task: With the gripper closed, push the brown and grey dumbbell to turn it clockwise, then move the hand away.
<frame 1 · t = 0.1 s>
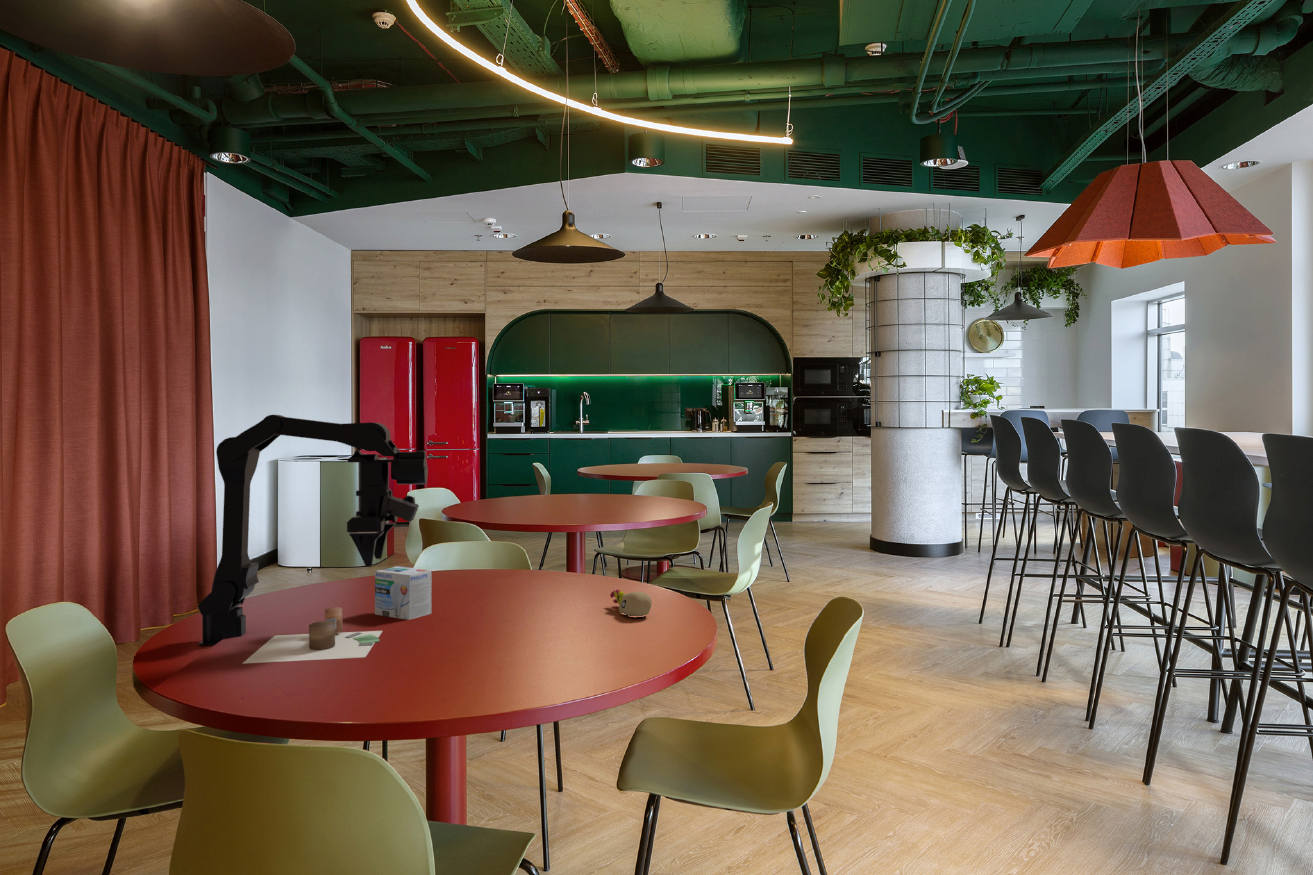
hand: (373, 562, 154), 15 cm above the table, fingers open, 9 cm apart
toy: (628, 614, 173), on the table
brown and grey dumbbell: (327, 627, 145), point 4 cm above the table, hinge at 0.0°
light bulb box: (403, 620, 167), on the table
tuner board: (317, 652, 142), on the table
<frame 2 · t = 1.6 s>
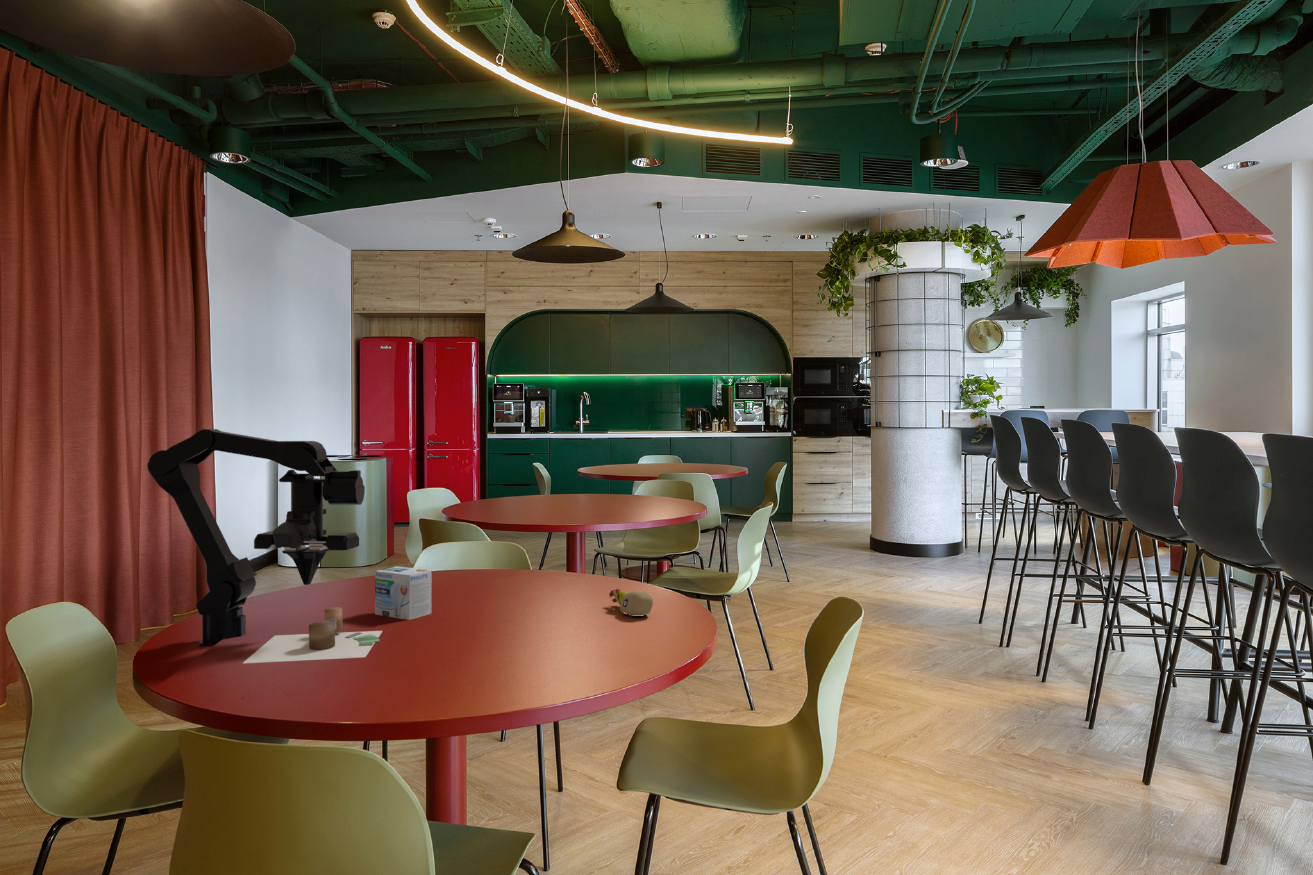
hand: (307, 584, 150), 11 cm above the table, fingers closed
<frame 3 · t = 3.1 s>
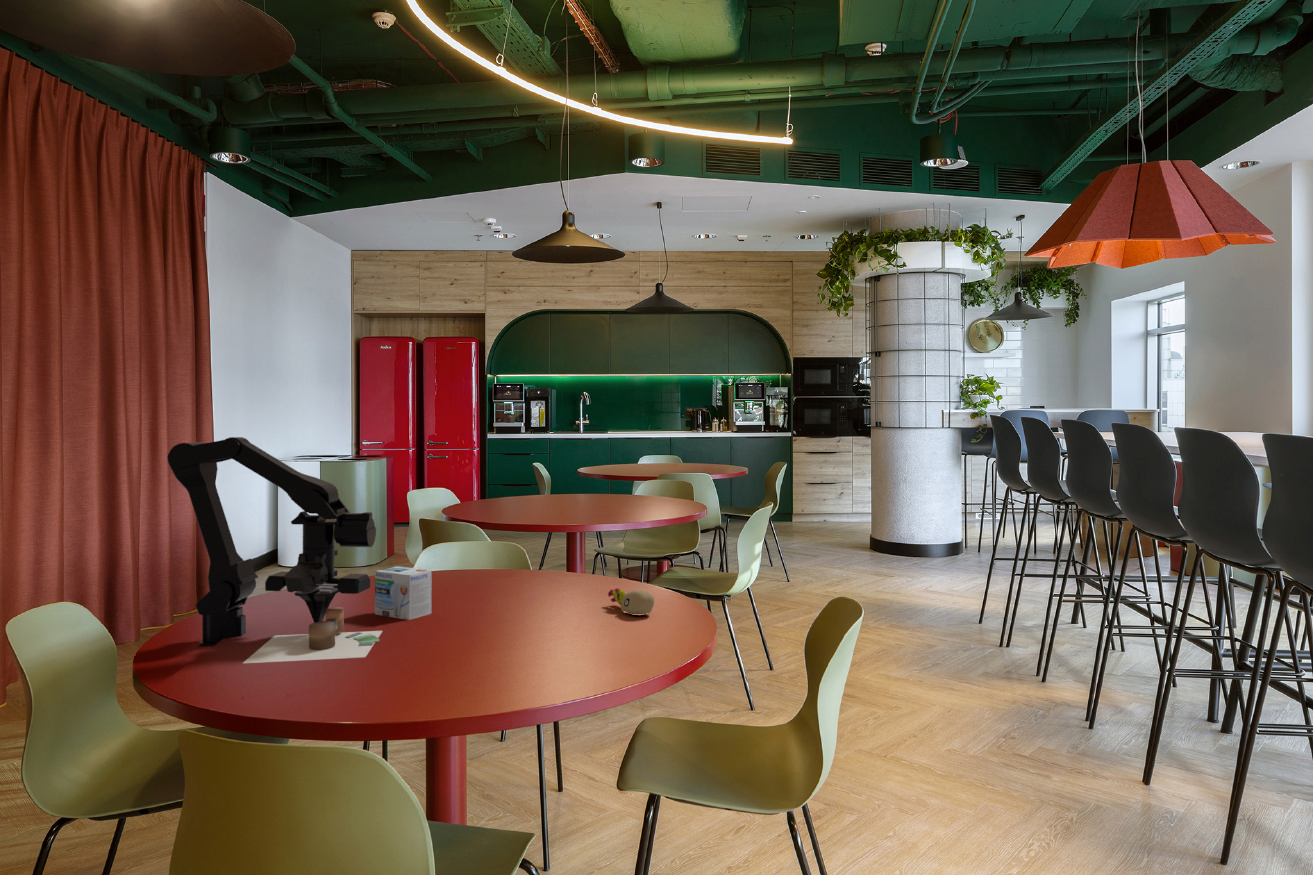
hand: (318, 626, 151), 3 cm above the table, fingers closed
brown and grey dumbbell: (328, 627, 145), point 4 cm above the table, hinge at 1.6°, touching gripper
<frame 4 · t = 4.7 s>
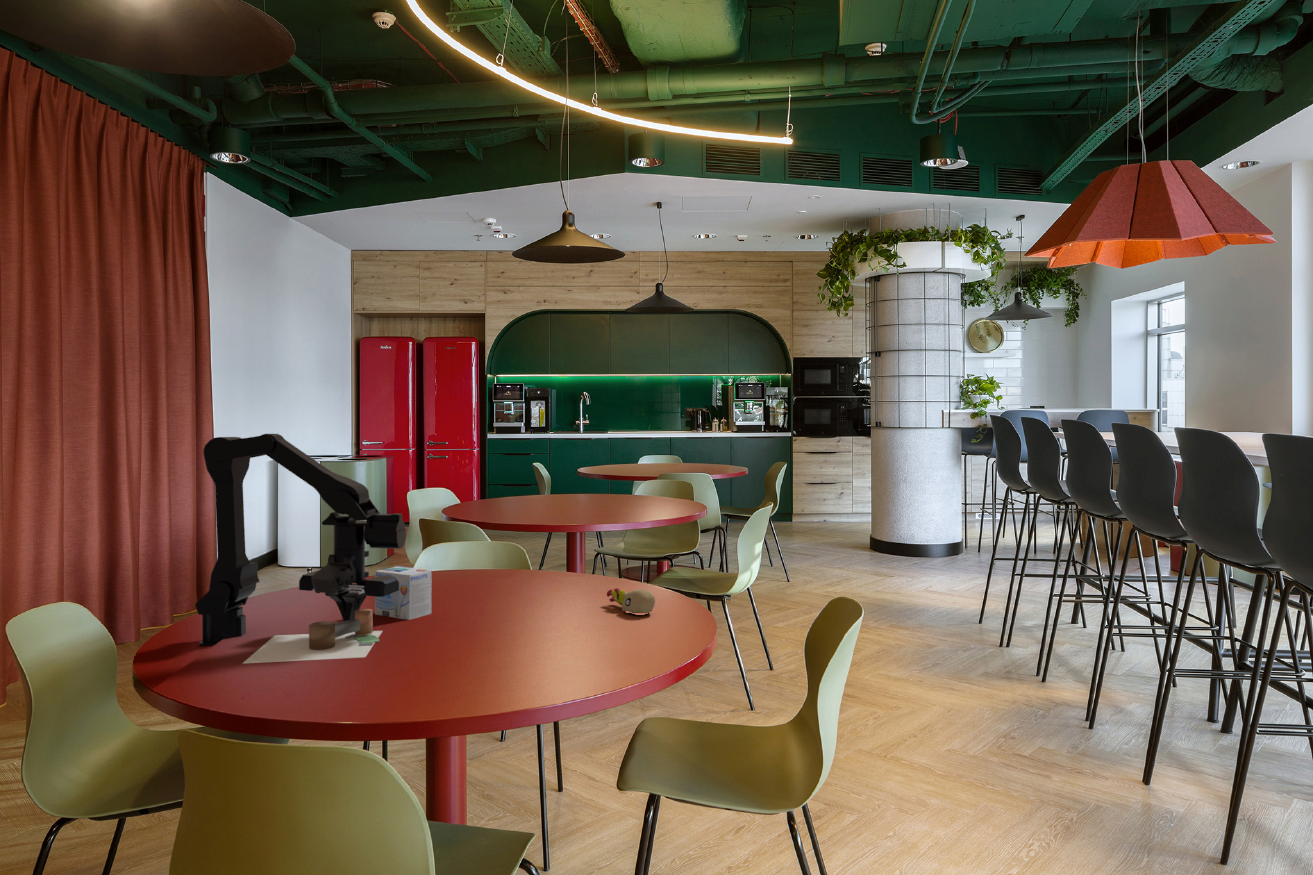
hand: (348, 626, 150), 3 cm above the table, fingers closed
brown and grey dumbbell: (342, 628, 145), point 4 cm above the table, hinge at 42.3°, touching gripper
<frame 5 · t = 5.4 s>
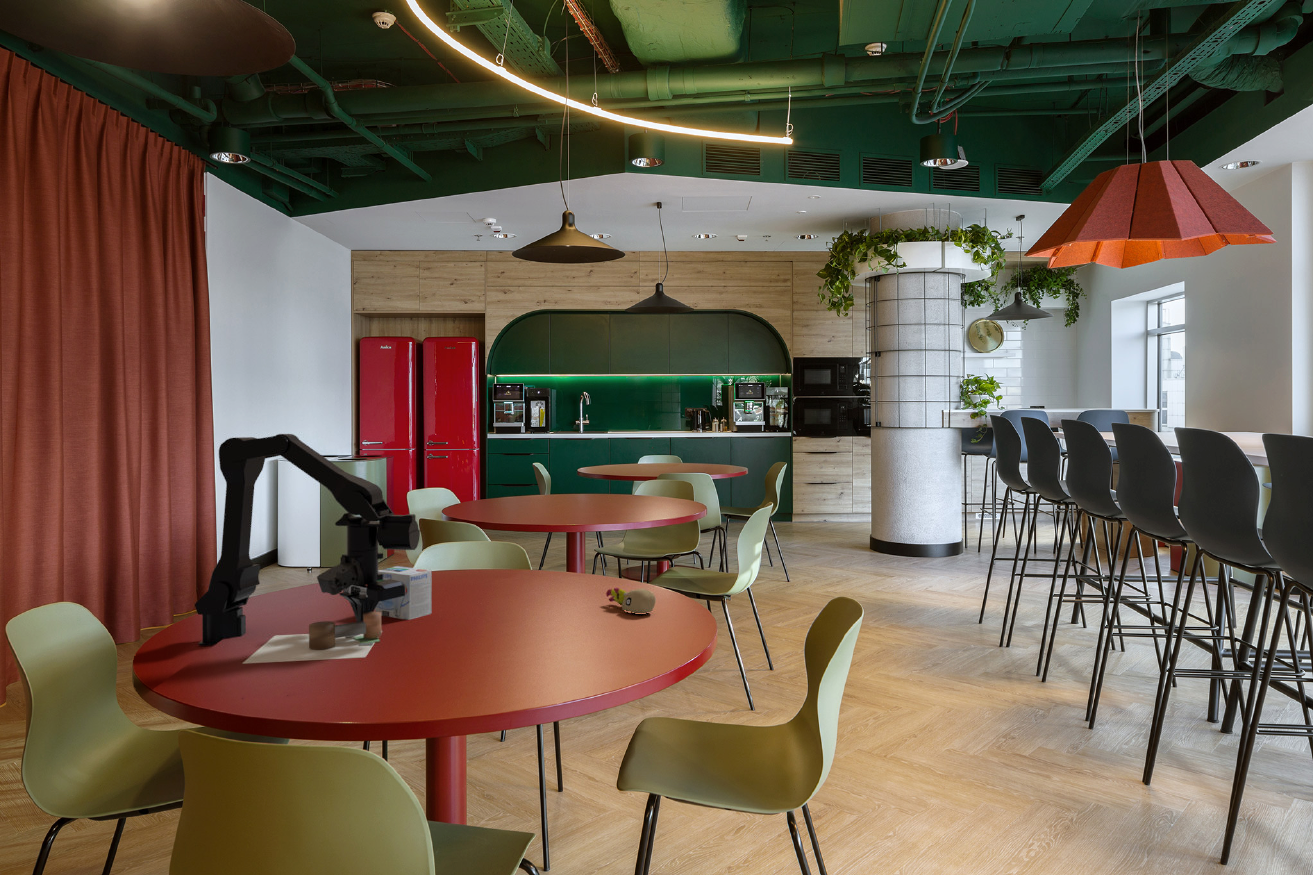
hand: (362, 628, 149), 3 cm above the table, fingers closed
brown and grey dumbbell: (346, 629, 144), point 4 cm above the table, hinge at 64.8°, touching gripper
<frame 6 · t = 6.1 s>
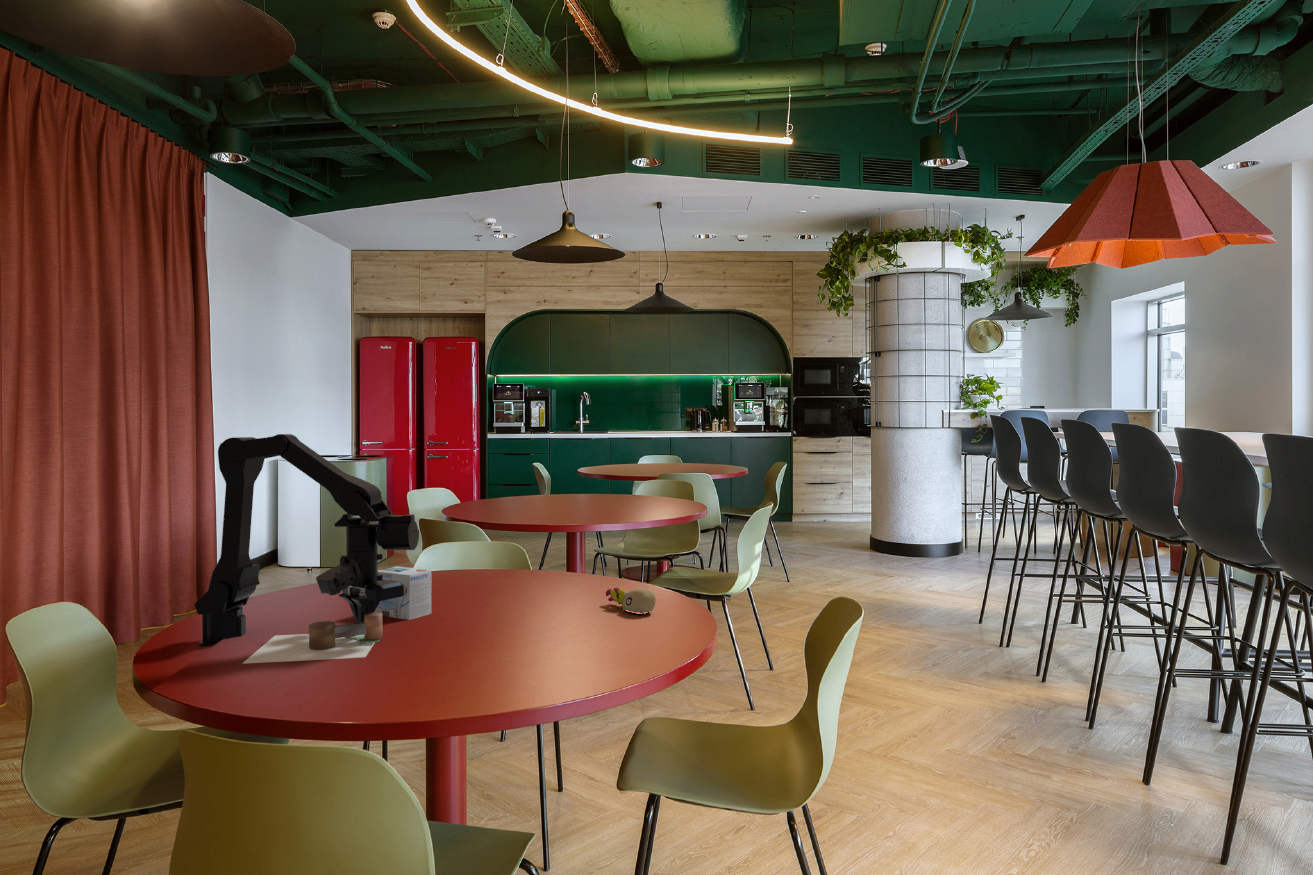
hand: (362, 630, 148), 2 cm above the table, fingers closed
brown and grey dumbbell: (346, 630, 143), point 4 cm above the table, hinge at 70.0°
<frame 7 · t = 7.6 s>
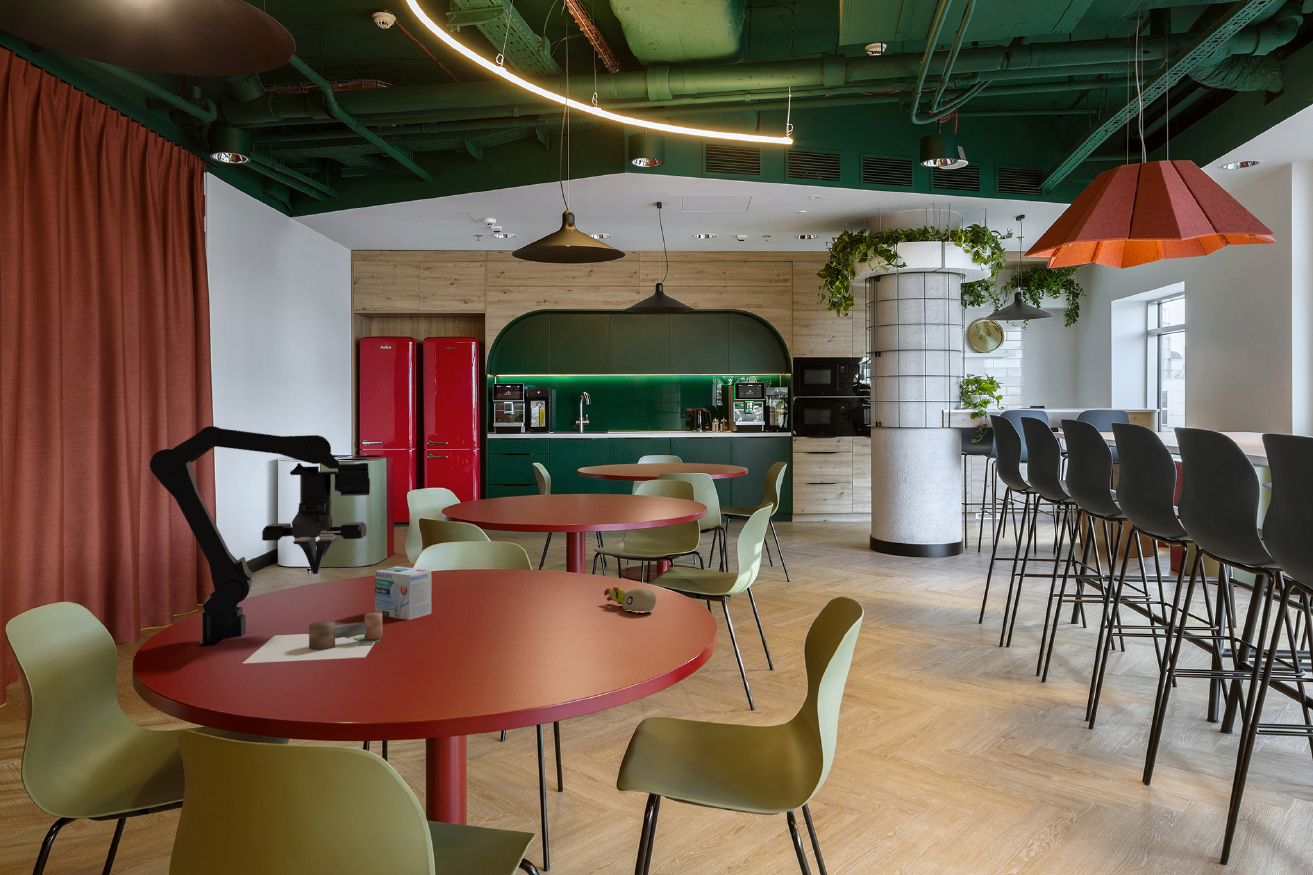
hand: (315, 573, 156), 12 cm above the table, fingers closed
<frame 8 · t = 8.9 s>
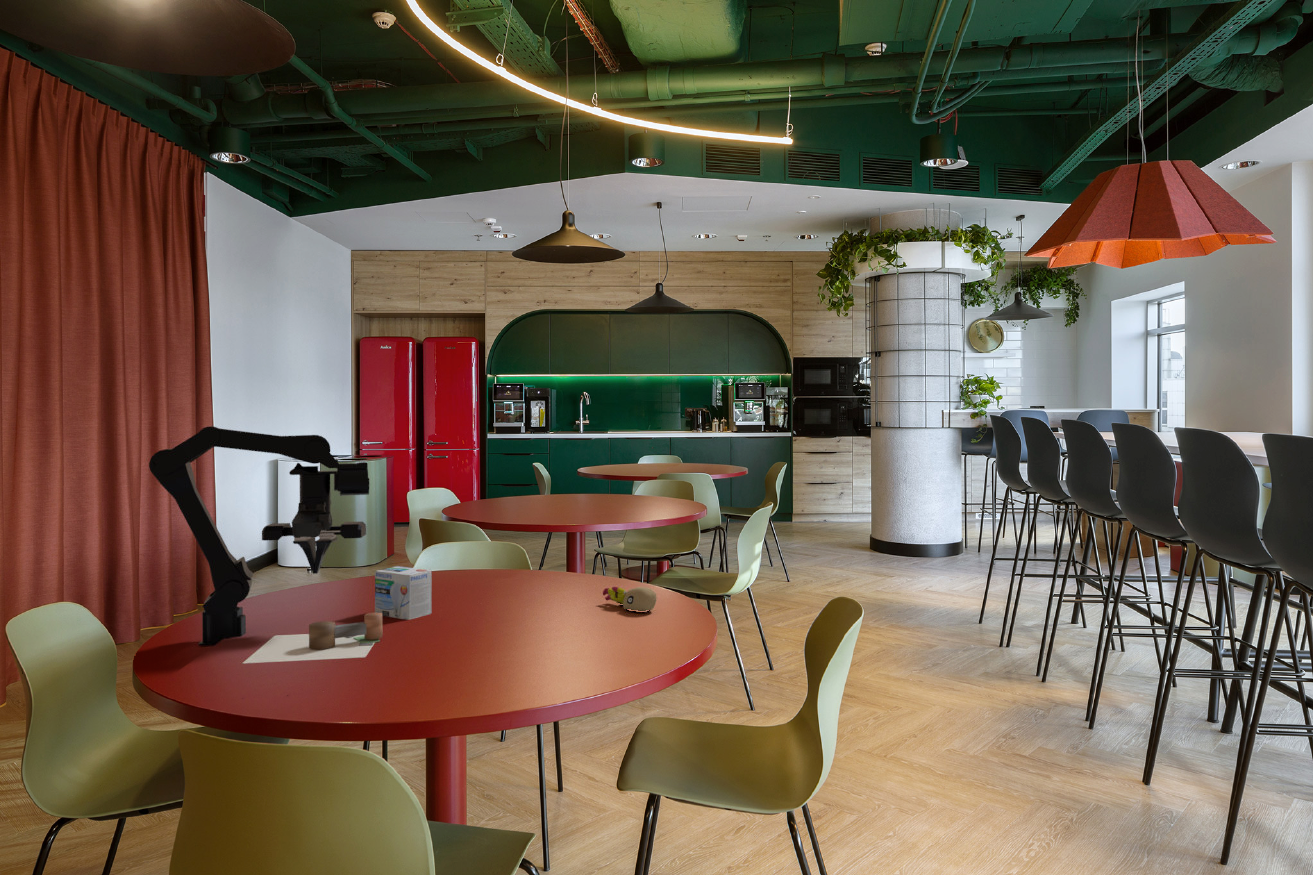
hand: (315, 573, 156), 12 cm above the table, fingers closed
at the end: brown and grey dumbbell at +70° (first picture: +0°); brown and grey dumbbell touching nothing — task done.
